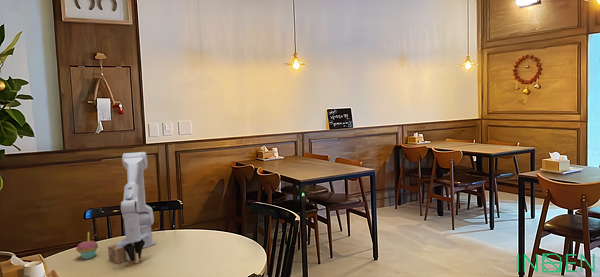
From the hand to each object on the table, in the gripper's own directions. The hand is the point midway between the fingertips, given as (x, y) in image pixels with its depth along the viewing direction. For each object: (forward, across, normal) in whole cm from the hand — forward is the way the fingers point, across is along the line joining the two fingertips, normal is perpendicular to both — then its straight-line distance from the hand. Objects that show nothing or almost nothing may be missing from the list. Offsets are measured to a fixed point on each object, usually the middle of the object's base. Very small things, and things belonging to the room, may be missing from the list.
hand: (135, 259), depth 185 cm
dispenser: (+1, 0, +9) cm, 9 cm away
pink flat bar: (+1, 0, +5) cm, 5 cm away
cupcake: (+2, -7, +25) cm, 26 cm away
